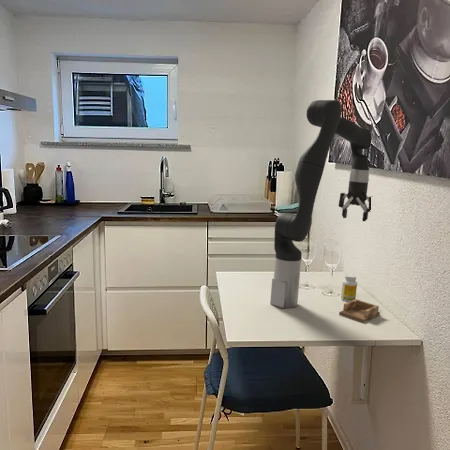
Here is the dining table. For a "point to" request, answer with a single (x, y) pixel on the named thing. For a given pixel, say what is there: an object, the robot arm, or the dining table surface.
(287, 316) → the dining table surface
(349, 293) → the supplement bottle
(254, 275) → the dining table surface
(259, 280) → the dining table surface
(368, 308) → the u rest
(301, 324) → the dining table surface
